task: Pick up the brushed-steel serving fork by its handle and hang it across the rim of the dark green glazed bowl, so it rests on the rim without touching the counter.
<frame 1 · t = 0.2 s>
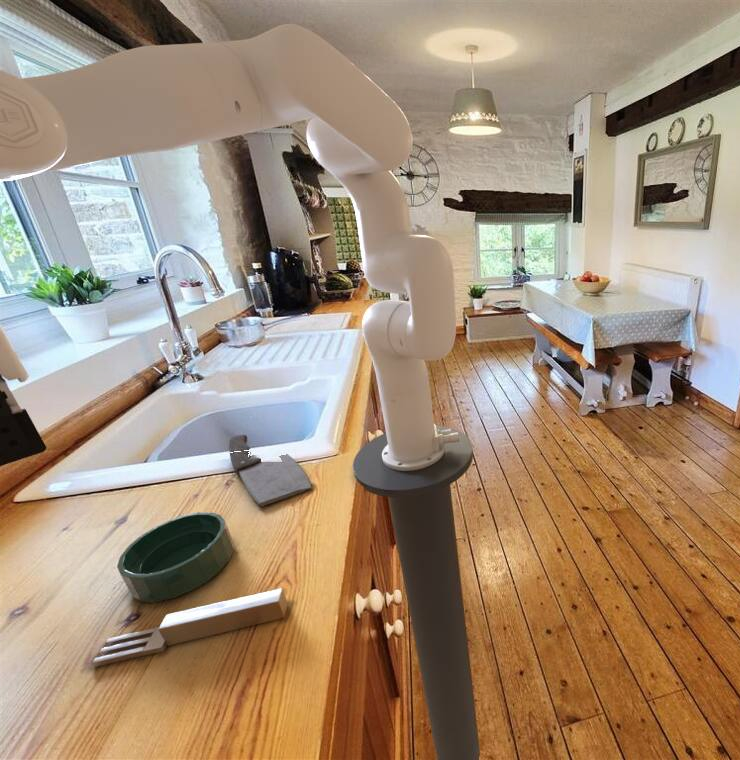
hand: (11, 442, 37), 29 cm above the worktop, tool pointing down, fingers open, 9 cm apart
cleaver: (263, 468, 83), on the worktop
bowl: (186, 567, 60), on the worktop
fork: (189, 634, 50), on the worktop
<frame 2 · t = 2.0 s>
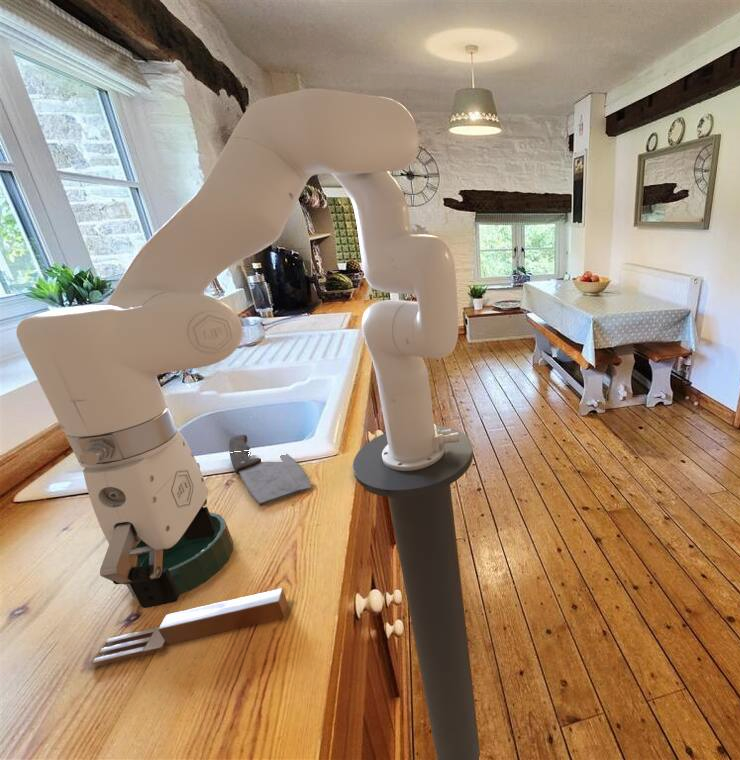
hand: (183, 566, 46), 11 cm above the worktop, tool pointing down, fingers open, 9 cm apart
nothing on the worktop moved.
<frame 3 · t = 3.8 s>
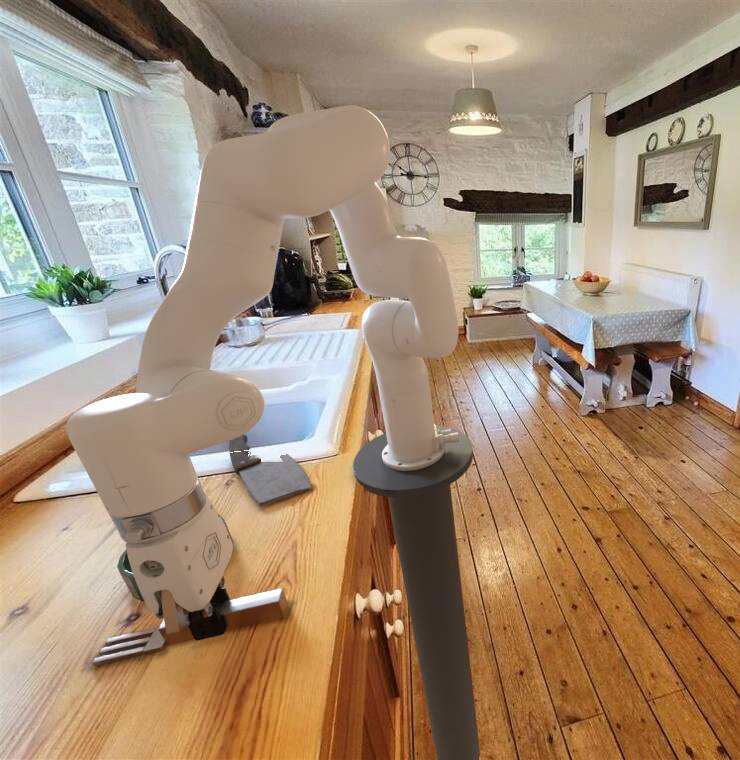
hand: (215, 624, 51), 1 cm above the worktop, tool pointing down, fingers closed on fork, 2 cm apart
fork: (189, 634, 50), on the worktop, touching gripper
everything else where it was.
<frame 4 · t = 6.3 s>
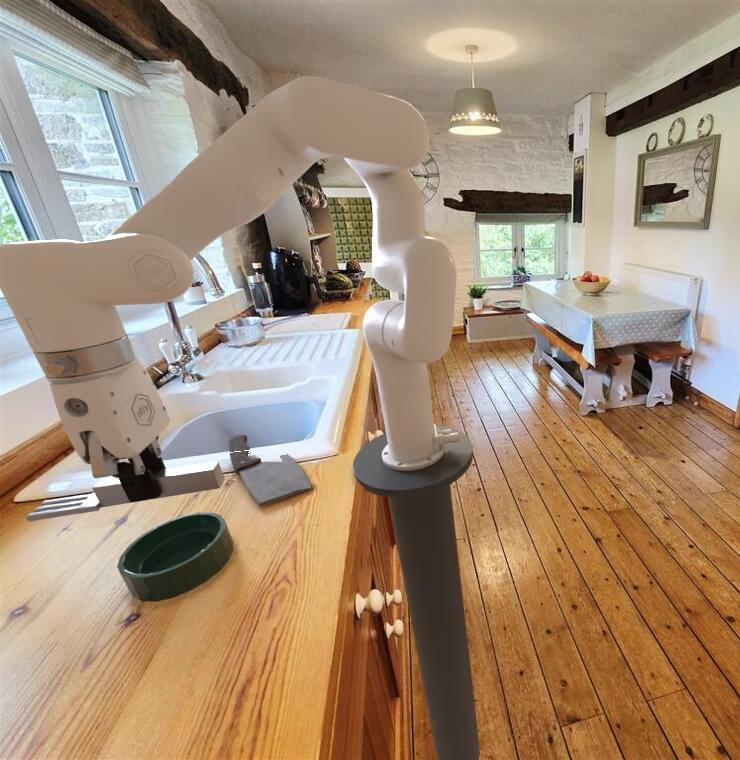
hand: (151, 491, 53), 15 cm above the worktop, tool pointing down, fingers closed on fork
fork: (125, 499, 52), point 14 cm above the worktop, touching gripper
everything else where it was.
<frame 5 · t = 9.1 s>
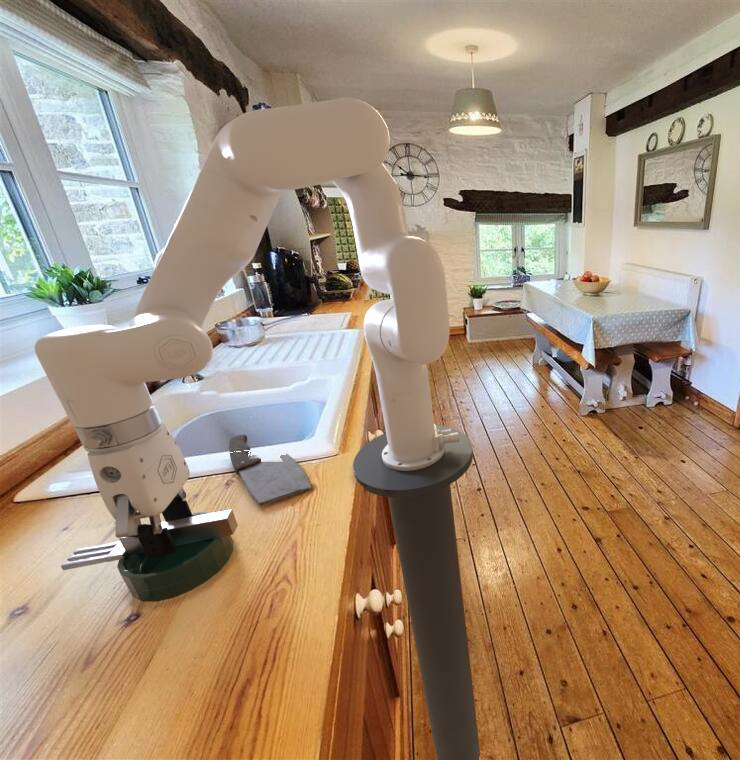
hand: (172, 537, 58), 6 cm above the worktop, tool pointing down, fingers open, 4 cm apart
fork: (148, 546, 57), point 5 cm above the worktop, touching bowl
everything else where it was.
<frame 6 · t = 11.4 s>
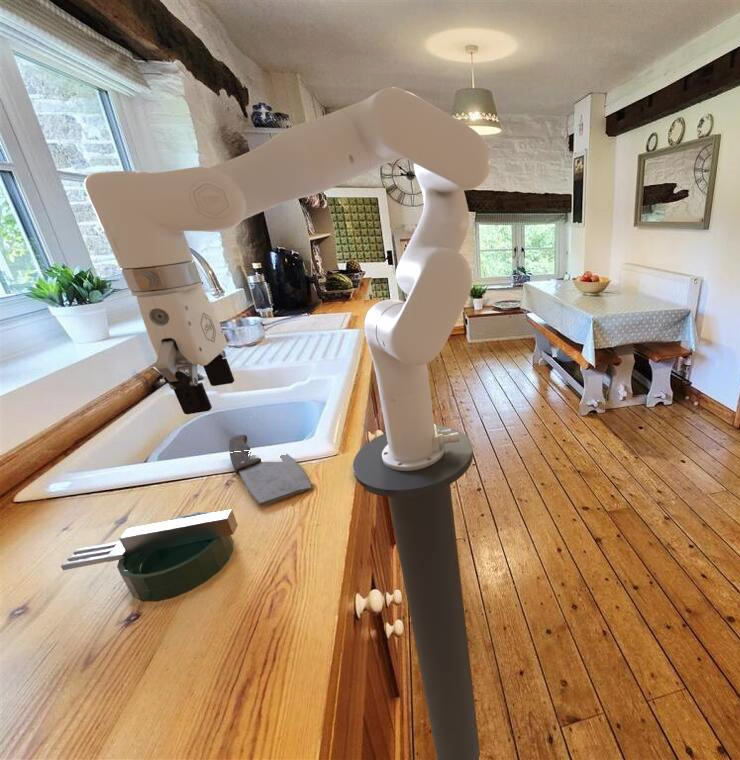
hand: (211, 396, 60), 23 cm above the worktop, tool pointing down, fingers open, 9 cm apart
nothing on the worktop moved.
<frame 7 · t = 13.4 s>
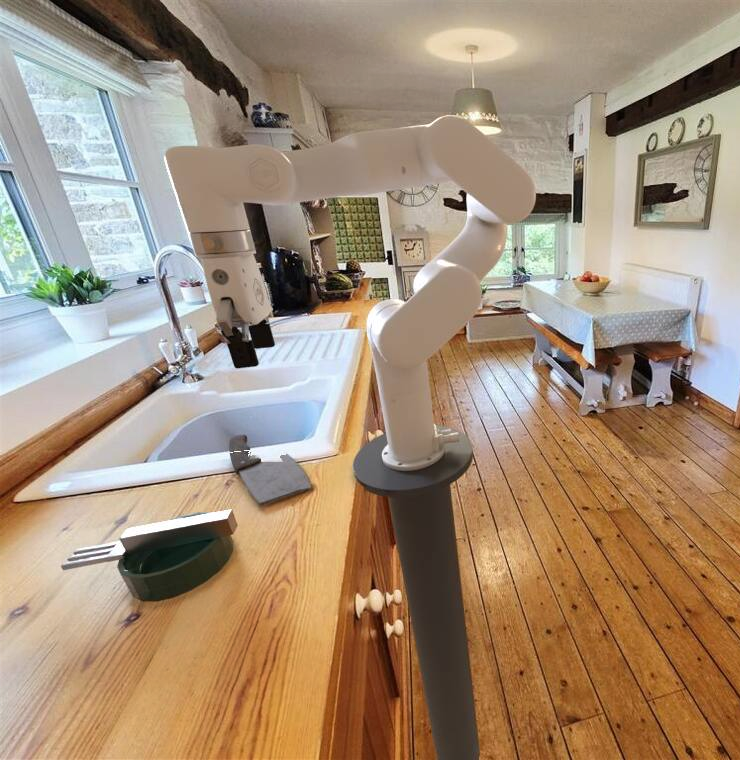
hand: (256, 356, 66), 26 cm above the worktop, tool pointing down, fingers open, 9 cm apart
nothing on the worktop moved.
at the end: fork touching bowl; fork inside the target area on the bowl (0.1 cm from its centre), point 5.0 cm above the bowl's base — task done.
